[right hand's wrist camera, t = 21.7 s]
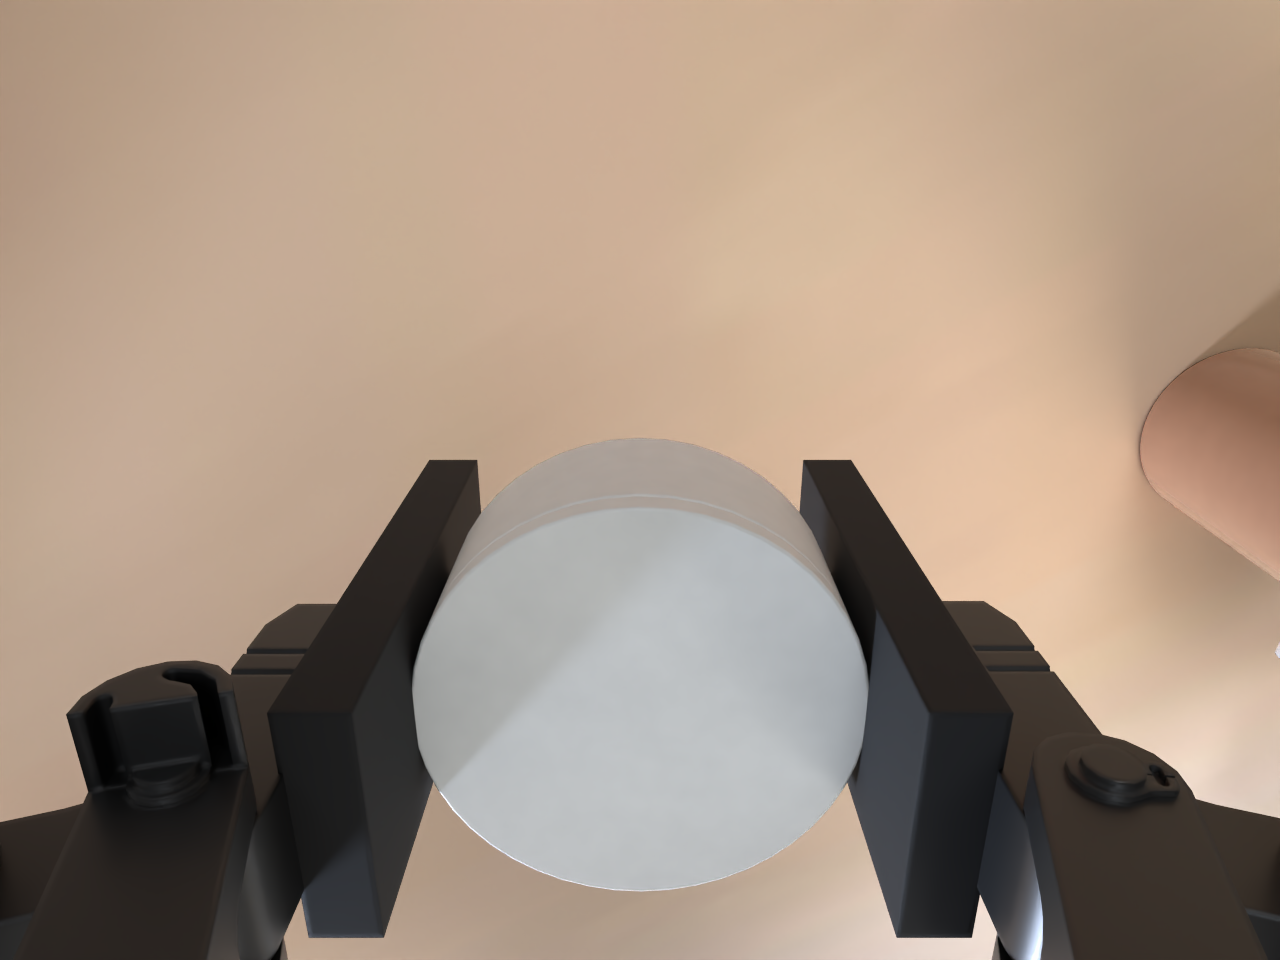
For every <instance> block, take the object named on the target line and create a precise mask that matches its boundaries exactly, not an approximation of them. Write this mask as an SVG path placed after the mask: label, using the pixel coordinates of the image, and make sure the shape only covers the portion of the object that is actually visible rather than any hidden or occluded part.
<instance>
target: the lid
mask: <svg viewBox="0 0 1280 960" xmlns="http://www.w3.org/2000/svg"><path fill="white" fill-rule="evenodd" d="M868 691H869V679H868V671H867V664H866V661H865V657H864V654H863V651H862V647H861V644H860V640H859V638H858V636H857V633H856V631H855V629H854V626H853V624H852V622H851V619H850V617H849V615H848V612H847V610H846V608H845V605H844V603H843V601H842V598H841V596H840V594H839V591H838V589H837V587H836V584H835V582H834V580H833V578H832V575H831V573H830V571H829V568H828V566H827V564H826V561H825V559H824V557H823V554H822V552H821V550H820V548H819V546H818V544H817V541H816V539H815V537H814V535H813V533H812V531H811V529H810V528H809V526H808V525H807V523H806V522H805V520H804V519H803V517H802V516H801V514H800V513H799V511H798V510H797V509H796V508H795V507H794V506H793V505H792V504H791V502H790V501H789V500H788V499H787V498H786V497H785V496H784V495H783V494H782V493H781V492H780V491H779V490H778V489H777V488H775V487H774V486H773V485H772V484H771V483H770V482H768V481H767V480H766V479H765V478H764V477H762V476H761V475H759V474H757V473H756V472H754V471H753V470H751V469H750V468H748V467H746V466H745V465H743V464H742V463H740V462H737V461H735V460H733V459H731V458H729V457H727V456H725V455H722V454H720V453H718V452H715V451H712V450H709V449H706V448H702V447H699V446H696V445H693V444H688V443H682V442H677V441H671V440H665V439H647V438H632V439H618V440H609V441H604V442H599V443H594V444H588V445H584V446H581V447H578V448H575V449H572V450H569V451H566V452H563V453H560V454H558V455H556V456H554V457H552V458H550V459H548V460H546V461H544V462H541V463H539V464H537V465H536V466H534V467H533V468H531V469H530V470H528V471H527V472H525V473H523V474H522V475H520V476H519V477H517V478H516V479H515V480H514V481H512V482H511V483H510V484H509V485H508V486H507V487H505V488H504V489H503V490H502V491H501V492H500V493H499V494H497V495H496V497H495V498H494V499H493V500H492V501H491V502H490V503H489V505H488V506H487V507H486V508H485V509H484V510H483V511H482V513H481V514H480V516H479V517H478V519H477V520H476V522H475V523H474V525H473V526H472V528H471V529H470V531H469V533H468V535H467V537H466V539H465V541H464V543H463V546H462V548H461V550H460V552H459V554H458V557H457V559H456V561H455V564H454V566H453V568H452V571H451V573H450V575H449V577H448V580H447V582H446V584H445V587H444V589H443V591H442V594H441V596H440V598H439V601H438V603H437V605H436V607H435V610H434V612H433V614H432V617H431V619H430V621H429V624H428V626H427V628H426V631H425V633H424V635H423V637H422V640H421V642H420V646H419V649H418V653H417V657H416V660H415V664H414V668H413V677H412V694H413V704H414V713H415V722H416V730H417V739H418V746H419V750H420V753H421V755H422V758H423V761H424V764H425V766H426V768H427V770H428V772H429V774H430V776H431V778H432V780H433V781H434V783H435V785H436V787H437V789H438V790H439V792H440V793H441V794H442V796H443V797H444V798H445V800H446V801H447V803H448V804H449V805H450V807H451V808H452V809H453V810H454V812H455V813H456V814H457V815H458V816H459V817H460V818H461V819H462V820H463V821H464V822H465V823H466V824H467V825H468V826H469V827H470V828H471V829H472V830H473V831H475V832H476V833H477V834H478V835H479V836H481V837H482V838H483V839H484V840H486V841H487V842H488V843H489V844H490V845H492V846H494V847H495V848H497V849H498V850H500V851H501V852H503V853H505V854H506V855H508V856H509V857H511V858H512V859H514V860H516V861H518V862H520V863H522V864H525V865H527V866H529V867H531V868H533V869H535V870H537V871H540V872H542V873H545V874H548V875H551V876H553V877H556V878H559V879H562V880H566V881H570V882H574V883H578V884H582V885H586V886H591V887H598V888H605V889H611V890H626V891H655V890H670V889H677V888H683V887H690V886H696V885H700V884H704V883H707V882H711V881H715V880H719V879H723V878H725V877H728V876H731V875H733V874H736V873H738V872H741V871H744V870H746V869H749V868H751V867H753V866H755V865H757V864H758V863H760V862H762V861H764V860H766V859H768V858H770V857H772V856H774V855H775V854H777V853H778V852H780V851H781V850H783V849H784V848H786V847H787V846H789V845H790V844H792V843H793V842H794V841H796V840H797V839H798V838H799V837H800V836H802V835H803V834H804V833H805V832H806V831H808V830H809V829H810V828H811V827H812V826H813V825H814V824H815V823H816V822H817V821H818V820H819V819H820V818H821V817H822V816H823V815H824V813H825V812H826V811H827V810H828V809H829V808H830V807H831V805H832V804H833V803H834V801H835V800H836V798H837V797H838V796H839V794H840V793H841V791H842V790H843V788H844V787H845V785H846V783H847V781H848V779H849V777H850V776H851V774H852V772H853V770H854V768H855V766H856V764H857V761H858V758H859V755H860V752H861V749H862V744H863V736H864V728H865V719H866V711H867V701H868Z"/></svg>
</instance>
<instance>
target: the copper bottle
mask: <svg viewBox="0 0 1280 960" xmlns="http://www.w3.org/2000/svg"><path fill="white" fill-rule="evenodd" d="M1140 457H1141V463H1142V468H1143V470H1144V473H1145V476H1146V478H1147V480H1148V482H1149V483H1150V485H1151V486H1152V487H1153V489H1154V490H1155V491H1156V492H1157V493H1158V494H1159V495H1160V496H1161V497H1162V498H1163V499H1165V500H1166V501H1168V502H1169V503H1170V504H1172V505H1173V506H1175V507H1176V508H1177V509H1179V510H1180V511H1182V512H1183V513H1184V514H1186V515H1187V516H1189V517H1190V518H1191V519H1193V520H1194V521H1195V522H1197V523H1198V524H1200V525H1201V526H1202V527H1204V528H1205V529H1207V530H1208V531H1209V532H1211V533H1212V534H1214V535H1215V536H1216V537H1218V538H1219V539H1220V540H1222V541H1223V542H1225V543H1226V544H1227V545H1229V546H1230V547H1232V548H1233V549H1234V550H1236V551H1237V552H1239V553H1240V554H1241V555H1243V556H1244V557H1246V558H1247V559H1248V560H1250V561H1251V562H1252V563H1254V564H1255V565H1257V566H1258V567H1259V568H1261V569H1262V570H1264V571H1265V572H1266V573H1268V574H1269V575H1271V576H1272V577H1273V578H1275V579H1276V580H1277V581H1279V582H1280V353H1278V352H1275V351H1272V350H1266V349H1260V348H1244V349H1235V350H1231V351H1226V352H1222V353H1219V354H1216V355H1213V356H1211V357H1208V358H1206V359H1204V360H1202V361H1200V362H1198V363H1197V364H1195V365H1193V366H1192V367H1190V368H1188V369H1187V370H1186V371H1184V372H1183V373H1182V374H1180V375H1179V376H1178V377H1177V378H1176V379H1175V380H1174V381H1172V382H1171V383H1170V384H1169V385H1168V386H1167V388H1166V389H1165V390H1164V391H1163V392H1162V393H1161V395H1160V396H1159V397H1158V399H1157V400H1156V402H1155V403H1154V405H1153V407H1152V409H1151V410H1150V412H1149V414H1148V416H1147V419H1146V422H1145V424H1144V427H1143V431H1142V435H1141V443H1140Z"/></svg>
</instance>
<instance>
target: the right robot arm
mask: <svg viewBox="0 0 1280 960" xmlns="http://www.w3.org/2000/svg"><path fill="white" fill-rule="evenodd" d="M480 514H481V506H480V493H479V479H478V465H477V460H429V462H428V463H427V465H426V466H425V468H424V469H423V471H422V473H421V474H420V476H419V477H418V479H417V480H416V482H415V483H414V485H413V487H412V488H411V490H410V491H409V493H408V494H407V496H406V497H405V499H404V501H403V502H402V504H401V505H400V507H399V508H398V510H397V511H396V513H395V515H394V516H393V518H392V519H391V521H390V522H389V524H388V525H387V527H386V528H385V530H384V532H383V533H382V535H381V536H380V538H379V539H378V541H377V542H376V544H375V546H374V547H373V549H372V550H371V552H370V553H369V555H368V556H367V558H366V560H365V561H364V563H363V564H362V566H361V567H360V569H359V570H358V572H357V574H356V575H355V577H354V578H353V580H352V581H351V583H350V584H349V586H348V588H347V589H346V591H345V592H344V594H343V595H342V597H341V598H340V600H339V602H338V603H337V604H297V605H295V606H294V607H292V608H290V609H289V610H287V611H286V612H284V613H283V614H281V615H280V616H278V617H277V618H275V619H274V620H272V621H271V622H269V623H267V624H266V625H265V626H264V627H263V629H262V630H261V631H260V633H259V634H258V635H257V637H256V638H255V639H254V640H253V642H252V643H251V644H250V646H249V647H248V648H247V654H243V655H242V656H241V658H240V659H239V660H238V661H237V663H236V664H235V665H234V667H233V668H232V669H231V670H232V672H231V675H229V674H228V673H227V672H226V671H224V670H223V669H222V668H221V667H220V666H218V665H214V664H209V663H205V662H200V661H172V662H164V663H160V664H155V665H151V666H146V667H142V668H137V669H135V670H132V671H130V672H127V673H125V674H122V675H120V676H117V677H115V678H112V679H110V680H107V681H106V682H104V683H102V684H101V685H99V686H98V687H96V688H95V689H93V690H92V691H90V692H88V693H87V694H85V695H84V696H82V697H81V698H80V699H79V701H78V702H77V703H76V704H75V705H74V706H73V707H72V709H71V710H70V711H69V712H68V713H67V714H66V716H67V719H68V723H69V726H70V730H71V733H72V737H73V740H74V744H75V747H76V751H77V754H78V758H79V761H80V764H81V768H82V771H83V775H84V778H85V782H86V785H87V789H88V794H87V796H86V798H85V801H84V803H83V804H80V805H76V806H72V807H69V808H65V809H61V810H56V811H51V812H46V813H42V814H37V815H32V816H28V817H23V818H18V819H14V820H9V821H4V822H0V960H288V957H287V951H286V946H285V941H284V934H285V932H286V930H287V928H288V925H289V923H290V921H291V919H292V916H293V914H294V912H295V910H296V907H297V905H298V903H299V901H300V898H301V899H302V904H303V909H304V915H305V920H306V925H307V931H308V936H309V938H384V935H385V932H386V929H387V926H388V923H389V920H390V916H391V913H392V910H393V907H394V904H395V901H396V898H397V894H398V891H399V888H400V885H401V882H402V879H403V876H404V872H405V869H406V866H407V863H408V860H409V857H410V854H411V850H412V847H413V844H414V841H415V838H416V835H417V832H418V828H419V825H420V822H421V819H422V816H423V813H424V810H425V806H426V803H427V800H428V797H429V794H430V791H431V788H432V784H433V780H432V778H431V776H430V774H429V772H428V770H427V768H426V766H425V764H424V761H423V758H422V755H421V753H420V750H419V746H418V739H417V730H416V722H415V713H414V704H413V694H412V677H413V668H414V664H415V660H416V657H417V653H418V649H419V646H420V642H421V640H422V637H423V635H424V633H425V631H426V628H427V626H428V624H429V621H430V619H431V617H432V614H433V612H434V610H435V607H436V605H437V603H438V601H439V598H440V596H441V594H442V591H443V589H444V587H445V584H446V582H447V580H448V577H449V575H450V573H451V571H452V568H453V566H454V564H455V561H456V559H457V557H458V554H459V552H460V550H461V548H462V546H463V543H464V541H465V539H466V537H467V535H468V533H469V531H470V529H471V528H472V526H473V525H474V523H475V522H476V520H477V519H478V517H479V516H480ZM800 514H801V516H802V517H803V519H804V520H805V522H806V523H807V525H808V526H809V528H810V529H811V531H812V533H813V535H814V537H815V539H816V541H817V544H818V546H819V548H820V550H821V552H822V554H823V557H824V559H825V561H826V564H827V566H828V568H829V571H830V573H831V575H832V578H833V580H834V582H835V584H836V587H837V589H838V591H839V594H840V596H841V598H842V601H843V603H844V605H845V608H846V610H847V612H848V615H849V617H850V619H851V622H852V624H853V626H854V629H855V631H856V633H857V636H858V638H859V640H860V644H861V647H862V651H863V654H864V657H865V661H866V664H867V671H868V679H869V691H868V701H867V711H866V719H865V728H864V736H863V744H862V749H861V752H860V755H859V758H858V761H857V764H856V766H855V768H854V770H853V772H852V774H851V776H850V777H849V779H848V781H847V783H848V786H849V789H850V792H851V795H852V799H853V802H854V805H855V808H856V811H857V814H858V817H859V820H860V824H861V827H862V830H863V833H864V836H865V839H866V842H867V846H868V849H869V852H870V855H871V858H872V861H873V864H874V868H875V871H876V874H877V877H878V880H879V883H880V886H881V890H882V893H883V896H884V899H885V902H886V905H887V908H888V912H889V915H890V918H891V921H892V924H893V927H894V930H895V934H896V937H897V938H972V934H973V928H974V923H975V918H976V912H977V907H978V902H979V896H980V895H981V897H982V899H983V902H984V904H985V906H986V908H987V911H988V913H989V915H990V917H991V920H992V922H993V924H994V926H995V929H996V931H997V936H996V941H995V946H994V951H993V956H992V960H1280V818H1276V817H1271V816H1266V815H1262V814H1257V813H1252V812H1248V811H1243V810H1238V809H1233V808H1229V807H1224V806H1219V805H1215V804H1212V803H1208V802H1204V801H1201V800H1197V799H1195V797H1194V795H1193V792H1192V790H1191V789H1190V788H1189V786H1188V785H1187V784H1186V782H1185V781H1184V780H1183V778H1182V777H1181V776H1180V774H1179V773H1178V772H1177V771H1176V770H1175V769H1173V768H1172V767H1171V766H1169V765H1168V764H1167V763H1165V762H1164V761H1163V760H1161V759H1160V758H1159V757H1157V756H1156V755H1155V754H1153V753H1151V752H1149V751H1146V750H1144V749H1142V748H1140V747H1138V746H1136V745H1133V744H1131V743H1129V742H1127V741H1124V740H1121V739H1117V738H1113V737H1109V736H1105V735H1102V734H1101V732H1100V731H1099V730H1098V729H1097V727H1096V726H1095V725H1094V723H1093V722H1092V721H1091V719H1090V718H1089V717H1088V715H1087V714H1086V713H1085V712H1084V710H1083V709H1082V708H1081V706H1080V705H1079V704H1078V702H1077V701H1076V700H1075V699H1074V697H1073V696H1072V695H1071V693H1070V692H1069V691H1068V689H1067V688H1066V687H1065V686H1064V684H1063V683H1062V682H1061V680H1060V679H1059V678H1058V676H1057V675H1056V674H1055V672H1050V666H1049V665H1048V663H1047V662H1046V661H1045V659H1044V658H1043V657H1042V656H1041V654H1040V653H1039V652H1038V651H1035V650H1034V645H1033V644H1032V643H1031V641H1030V640H1029V639H1028V637H1027V636H1026V635H1025V633H1024V632H1023V631H1022V629H1021V628H1020V627H1019V626H1018V624H1017V623H1016V622H1015V621H1013V620H1012V619H1010V618H1009V617H1007V616H1006V615H1004V614H1003V613H1001V612H1000V611H998V610H997V609H995V608H993V607H992V606H990V605H989V604H987V603H986V602H984V601H941V599H940V597H939V596H938V594H937V593H936V591H935V590H934V588H933V587H932V585H931V584H930V582H929V580H928V579H927V577H926V576H925V574H924V573H923V571H922V570H921V568H920V566H919V565H918V563H917V562H916V560H915V559H914V557H913V556H912V554H911V552H910V551H909V549H908V548H907V546H906V545H905V543H904V542H903V540H902V538H901V537H900V535H899V534H898V532H897V531H896V529H895V528H894V526H893V524H892V523H891V521H890V520H889V518H888V517H887V515H886V514H885V512H884V511H883V509H882V507H881V506H880V504H879V503H878V501H877V500H876V498H875V497H874V495H873V493H872V492H871V490H870V489H869V487H868V486H867V484H866V483H865V481H864V479H863V478H862V476H861V475H860V473H859V472H858V470H857V469H856V467H855V465H854V464H853V462H852V461H851V460H803V473H802V486H801V500H800Z"/></svg>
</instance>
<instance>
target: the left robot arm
mask: <svg viewBox="0 0 1280 960" xmlns="http://www.w3.org/2000/svg"><path fill="white" fill-rule="evenodd" d="M1275 653H1276V655H1277V656H1278V657H1279V658H1280V642H1279V644H1278V646H1277V648H1276V650H1275Z"/></svg>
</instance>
